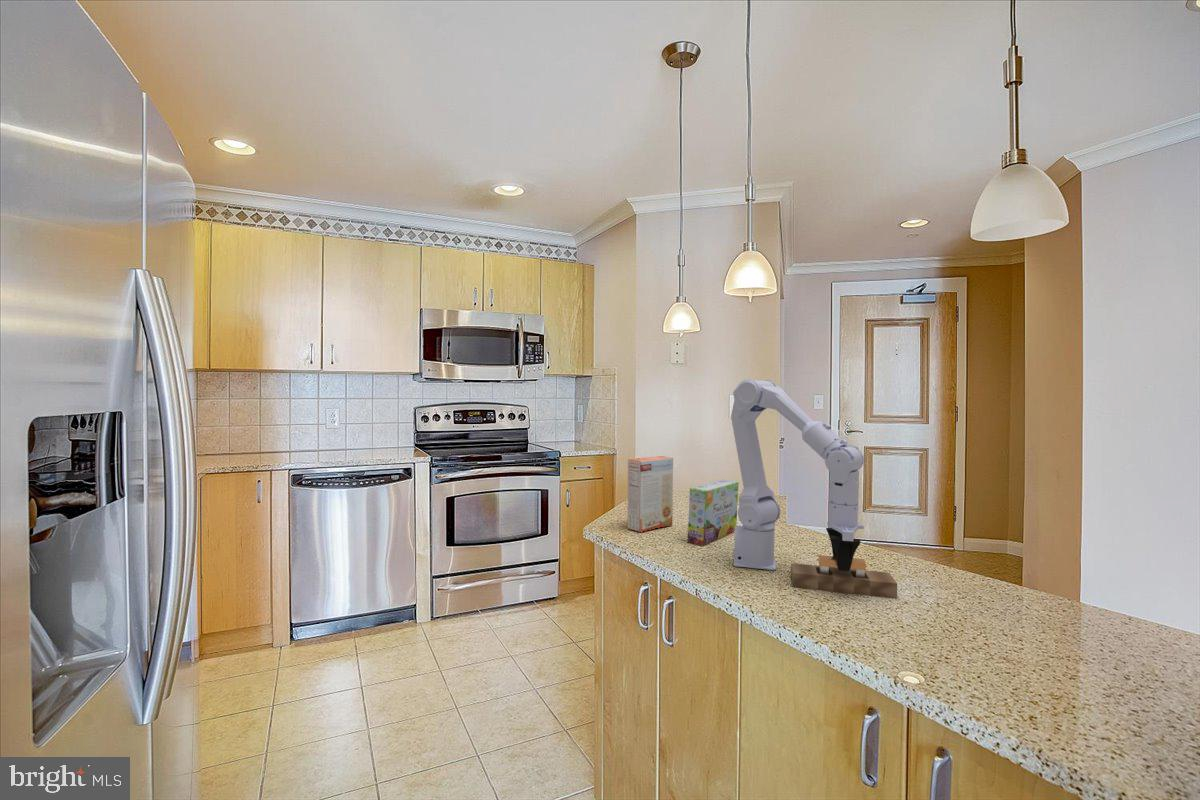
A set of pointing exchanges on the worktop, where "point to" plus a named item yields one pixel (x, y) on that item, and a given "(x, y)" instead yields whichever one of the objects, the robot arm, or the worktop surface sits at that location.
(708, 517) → the snack box
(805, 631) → the worktop surface
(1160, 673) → the worktop surface
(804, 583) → the brown wooden peg board
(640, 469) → the cracker box
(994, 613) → the worktop surface
